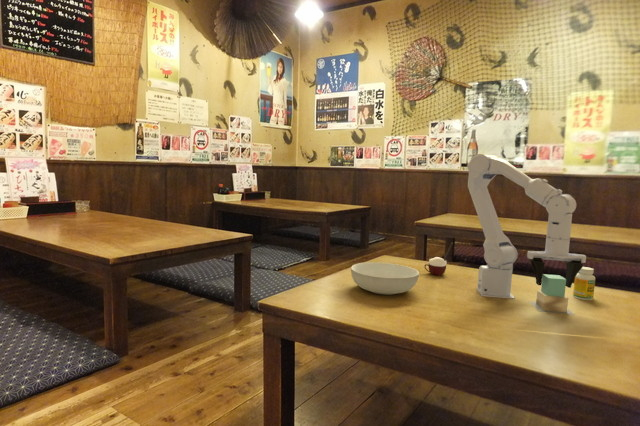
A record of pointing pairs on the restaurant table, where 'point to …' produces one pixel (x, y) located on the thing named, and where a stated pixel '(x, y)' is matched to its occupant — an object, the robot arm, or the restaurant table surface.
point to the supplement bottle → (584, 284)
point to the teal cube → (553, 285)
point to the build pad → (549, 311)
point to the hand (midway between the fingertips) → (553, 285)
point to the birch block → (551, 302)
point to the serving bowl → (384, 277)
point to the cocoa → (438, 264)
